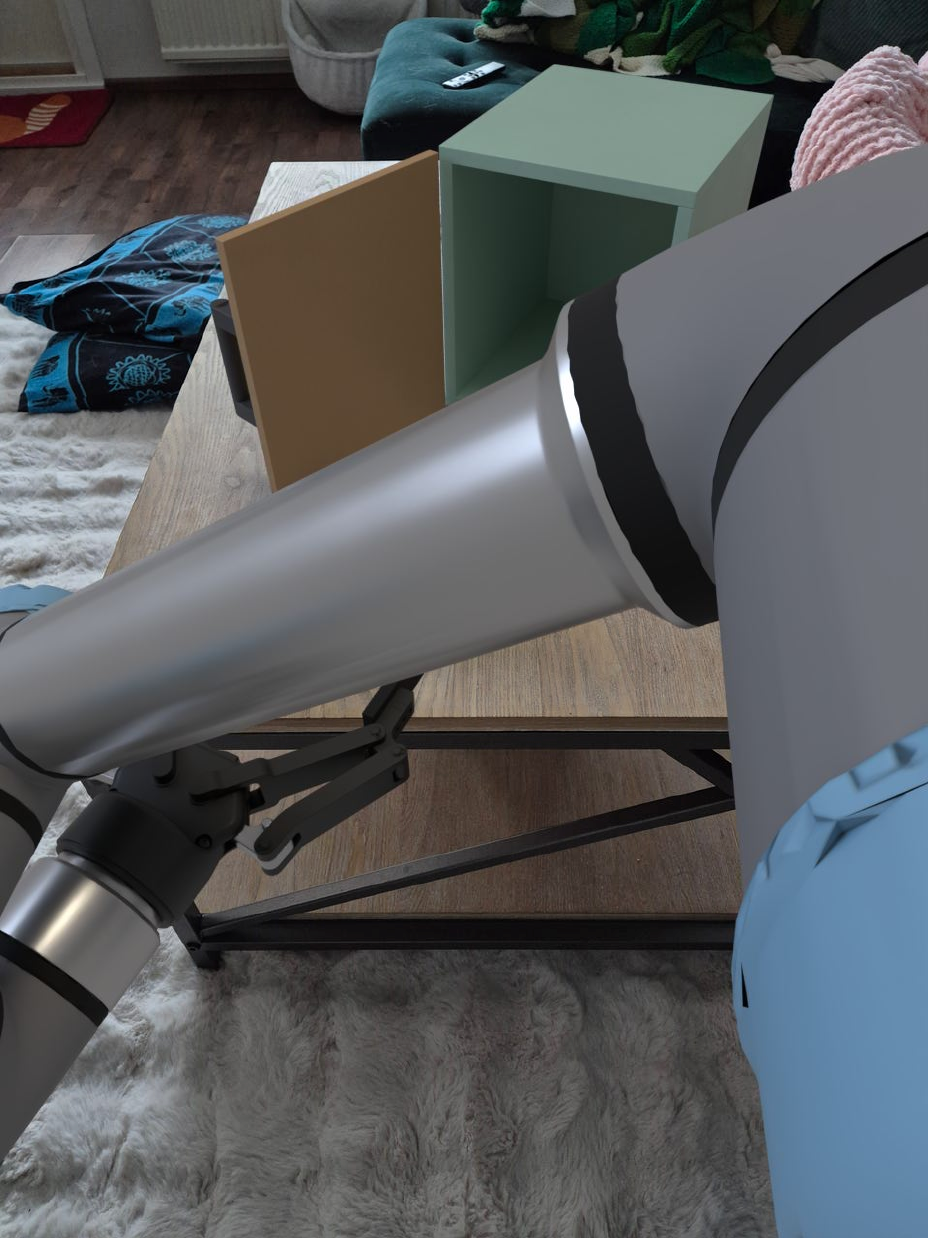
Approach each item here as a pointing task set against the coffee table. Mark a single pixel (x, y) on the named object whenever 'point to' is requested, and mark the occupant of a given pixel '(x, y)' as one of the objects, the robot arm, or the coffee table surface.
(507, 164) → the box
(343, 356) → the fridge door
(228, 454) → the coffee table surface
